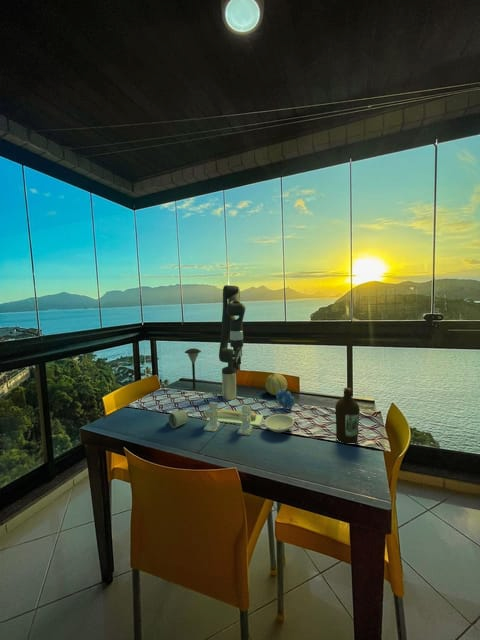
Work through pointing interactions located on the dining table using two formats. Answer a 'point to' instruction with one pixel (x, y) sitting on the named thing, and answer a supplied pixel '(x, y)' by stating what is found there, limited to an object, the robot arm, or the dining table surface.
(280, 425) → the dish
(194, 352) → the solar garden light
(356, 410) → the olive oil
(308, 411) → the dining table surface
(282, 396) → the grapes
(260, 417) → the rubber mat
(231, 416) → the birch batten
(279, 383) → the cantaloupe
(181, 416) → the ceramic mug
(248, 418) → the hook rack
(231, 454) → the dining table surface
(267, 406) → the dining table surface
